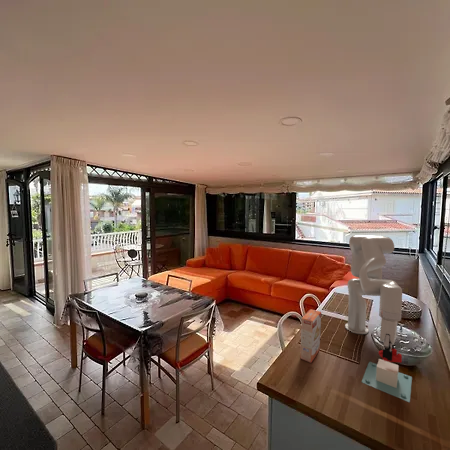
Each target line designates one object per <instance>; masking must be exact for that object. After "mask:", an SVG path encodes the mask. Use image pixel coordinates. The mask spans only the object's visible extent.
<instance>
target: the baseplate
mask: <svg viewBox="0 0 450 450" xmlns="http://www.w3.org/2000/svg"><path fill="white" fill-rule="evenodd" d="M377 364H378V363H375V362H372V361H369V362H368V364H367V367H366V369H365V372H364V373H363V376H362V380H361V383H363V384H365V385H367V386H369V387H372V388H374V389H376V390H379V391H381V392H383V393H386V394H388V395H391V396H393V397H396V398H399V399H401V400H403V401H405V402H408V403H410V402H411V394H412V380H413V377H412V376H410V375H408V374H404V373H403V372H399V371H398V382H397V388H395V387H392V386H390V385H387V384H385V383H382V382H380V381H377V380H376V371H377Z"/></svg>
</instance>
